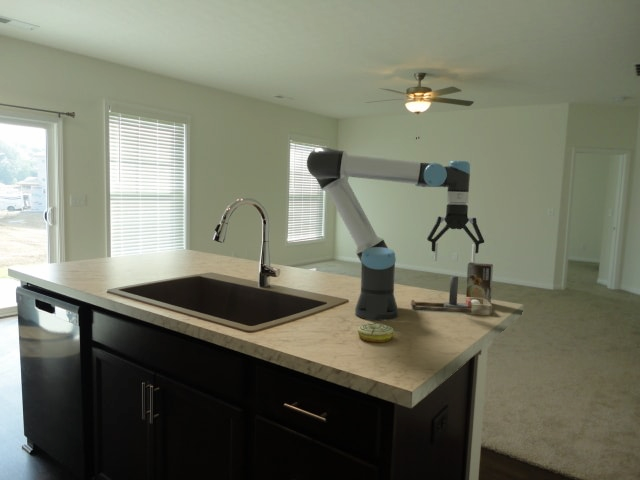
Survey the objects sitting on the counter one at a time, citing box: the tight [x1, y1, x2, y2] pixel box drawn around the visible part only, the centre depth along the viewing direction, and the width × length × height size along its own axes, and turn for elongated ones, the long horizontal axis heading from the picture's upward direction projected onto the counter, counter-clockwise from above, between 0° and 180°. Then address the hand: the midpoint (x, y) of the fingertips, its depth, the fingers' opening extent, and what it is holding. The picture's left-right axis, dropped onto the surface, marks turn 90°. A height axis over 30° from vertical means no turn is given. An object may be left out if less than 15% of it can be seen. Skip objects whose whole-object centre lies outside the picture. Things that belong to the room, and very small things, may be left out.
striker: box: [443, 275, 471, 309], centre depth 169 cm, size 9×5×12 cm, turn 82°
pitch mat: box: [410, 304, 472, 315], centre depth 170 cm, size 28×12×1 cm, turn 82°
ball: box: [471, 300, 480, 307], centre depth 169 cm, size 4×4×4 cm
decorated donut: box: [357, 322, 395, 343], centre depth 135 cm, size 10×11×4 cm
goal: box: [465, 296, 493, 316], centre depth 169 cm, size 7×12×4 cm, turn 172°
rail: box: [410, 299, 471, 313], centre depth 171 cm, size 21×8×2 cm, turn 82°
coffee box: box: [465, 262, 494, 305], centre depth 180 cm, size 9×6×16 cm
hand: (454, 261), depth 168 cm, fingers open, 13 cm apart
